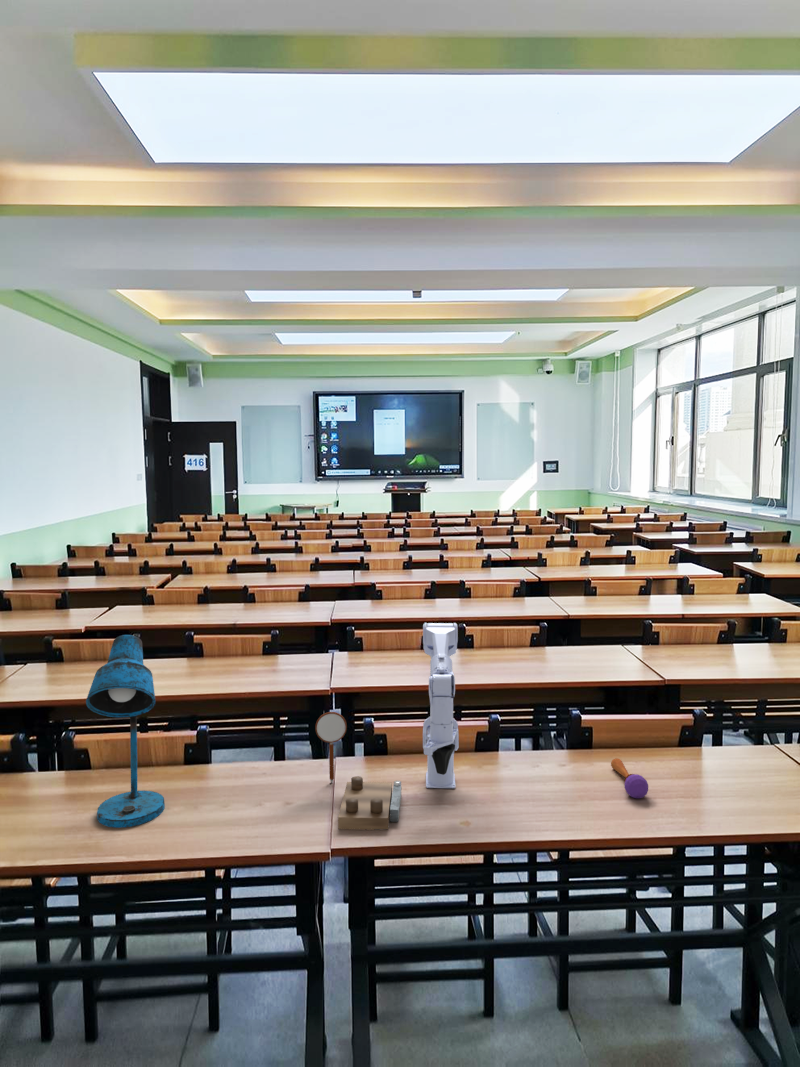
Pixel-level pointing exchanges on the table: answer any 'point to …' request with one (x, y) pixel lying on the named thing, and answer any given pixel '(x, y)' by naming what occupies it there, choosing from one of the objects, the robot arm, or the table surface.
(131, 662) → the desk lamp
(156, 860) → the table surface
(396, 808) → the hinged leg
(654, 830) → the table surface
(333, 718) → the magnifying glass
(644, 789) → the purple mallet
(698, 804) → the table surface
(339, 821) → the stool seat
